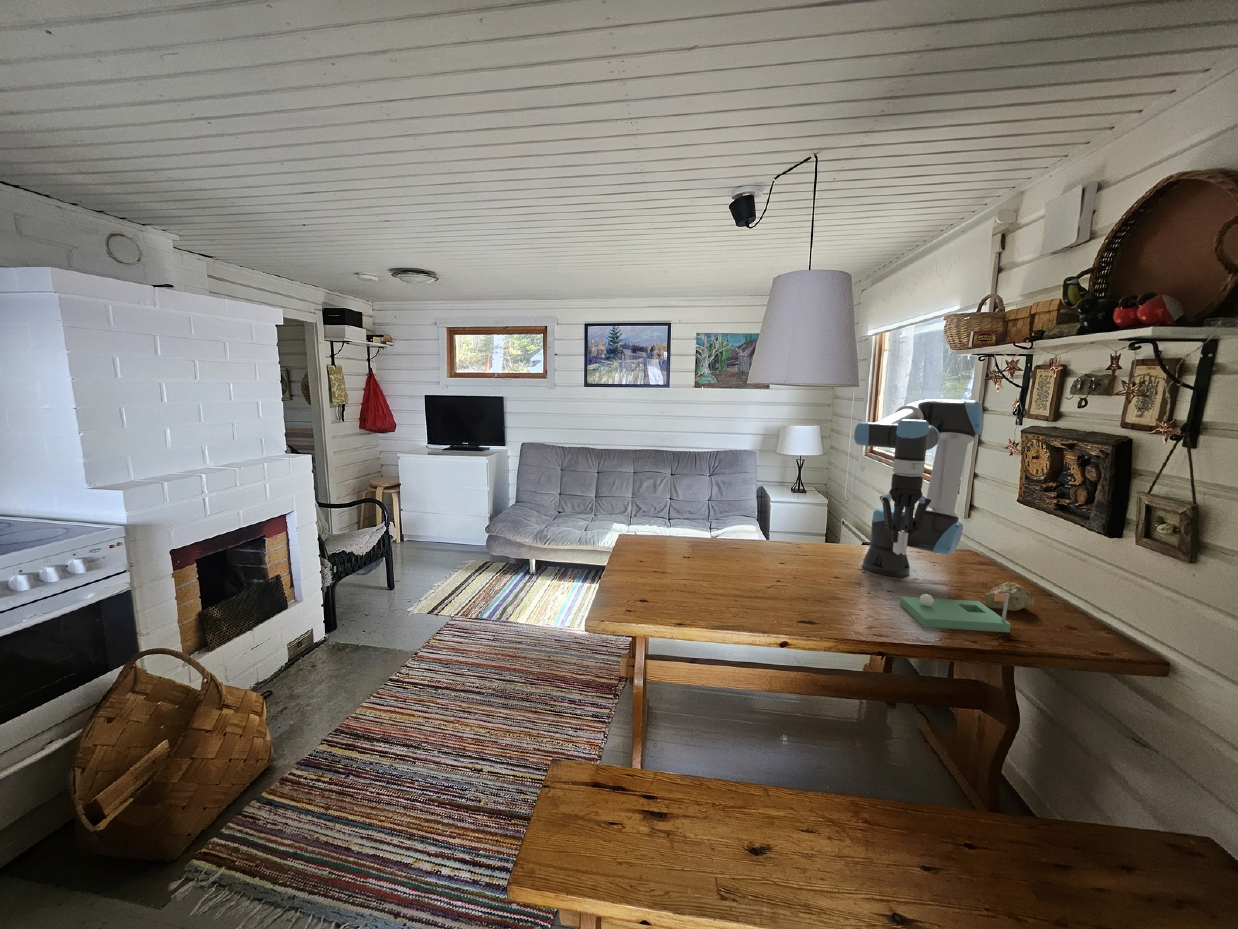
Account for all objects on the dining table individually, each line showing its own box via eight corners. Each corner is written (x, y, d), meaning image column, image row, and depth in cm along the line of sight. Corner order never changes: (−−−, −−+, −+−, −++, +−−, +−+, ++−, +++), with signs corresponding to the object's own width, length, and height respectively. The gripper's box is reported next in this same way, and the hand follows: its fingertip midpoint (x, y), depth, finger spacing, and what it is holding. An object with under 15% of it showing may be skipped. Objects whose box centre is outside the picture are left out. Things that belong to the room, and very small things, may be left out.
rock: (995, 623, 142) (986, 597, 140) (981, 605, 150) (972, 581, 148) (1040, 613, 138) (1031, 586, 136) (1024, 595, 146) (1015, 570, 144)
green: (900, 604, 144) (903, 572, 142) (977, 608, 141) (981, 576, 139) (923, 626, 130) (927, 591, 128) (1009, 632, 127) (1015, 596, 125)
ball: (916, 602, 139) (918, 591, 139) (929, 603, 139) (930, 592, 138) (922, 608, 136) (924, 596, 135) (935, 608, 135) (937, 597, 135)
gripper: (887, 475, 129) (879, 556, 133) (941, 477, 127) (931, 558, 131) (876, 471, 137) (868, 547, 140) (927, 472, 135) (918, 549, 139)
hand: (899, 552), depth 136 cm, fingers closed
